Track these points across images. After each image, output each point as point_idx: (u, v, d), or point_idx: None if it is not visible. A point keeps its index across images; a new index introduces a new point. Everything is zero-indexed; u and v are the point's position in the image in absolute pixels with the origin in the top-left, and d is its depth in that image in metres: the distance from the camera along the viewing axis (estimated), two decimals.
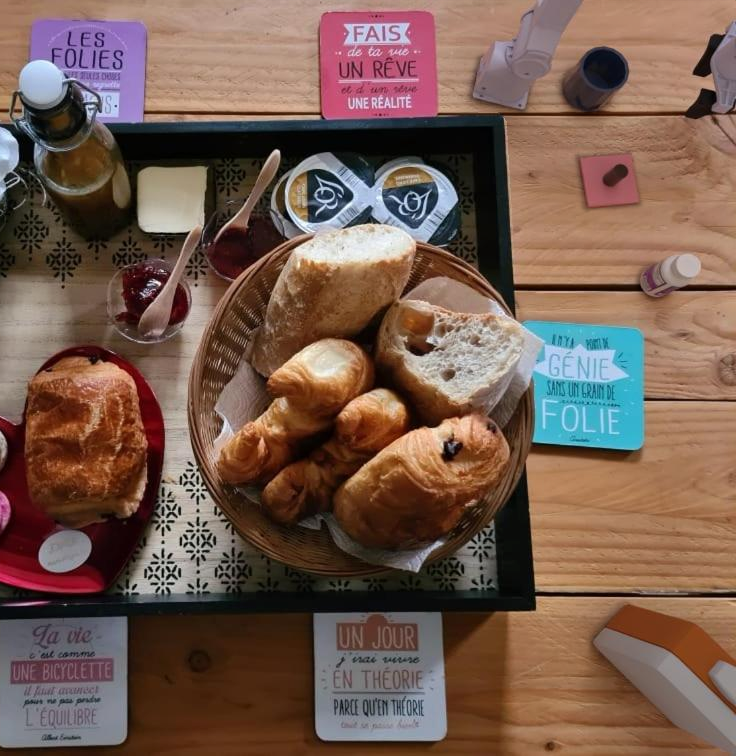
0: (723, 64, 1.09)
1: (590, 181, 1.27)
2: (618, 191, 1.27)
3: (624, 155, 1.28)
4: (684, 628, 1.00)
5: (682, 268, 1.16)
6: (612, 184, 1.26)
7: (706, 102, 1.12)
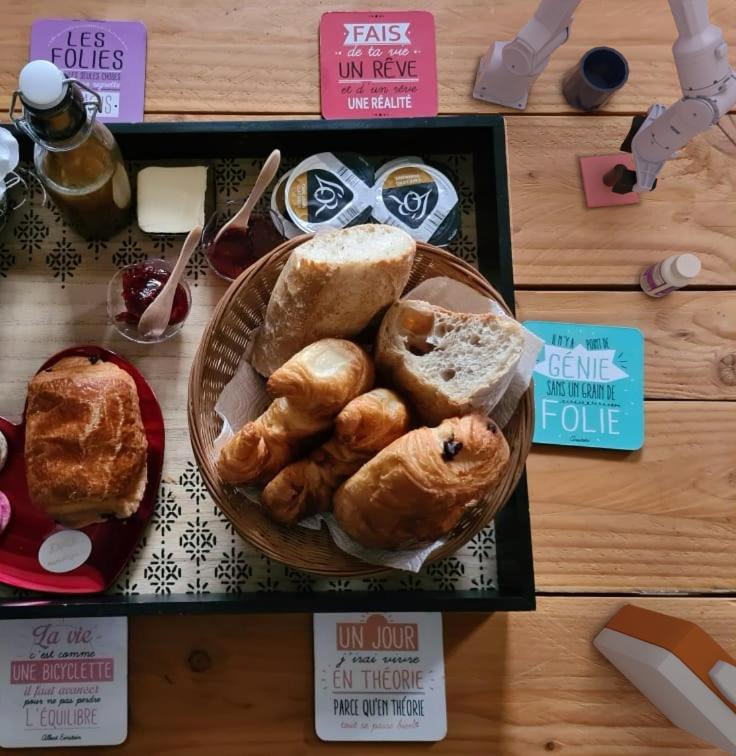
0: (641, 147, 1.13)
1: (590, 181, 1.27)
2: None
3: (624, 155, 1.28)
4: (684, 628, 1.00)
5: (682, 268, 1.16)
6: (612, 184, 1.26)
7: (627, 182, 1.16)
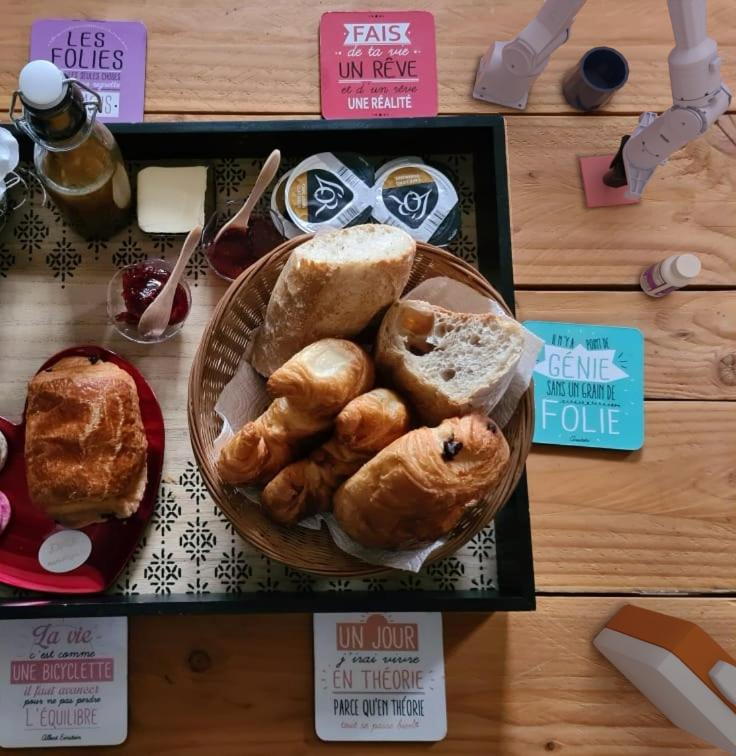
0: (632, 155, 1.16)
1: (590, 181, 1.27)
2: (618, 191, 1.27)
3: None
4: (684, 628, 1.00)
5: (682, 268, 1.16)
6: None
7: (621, 176, 1.19)
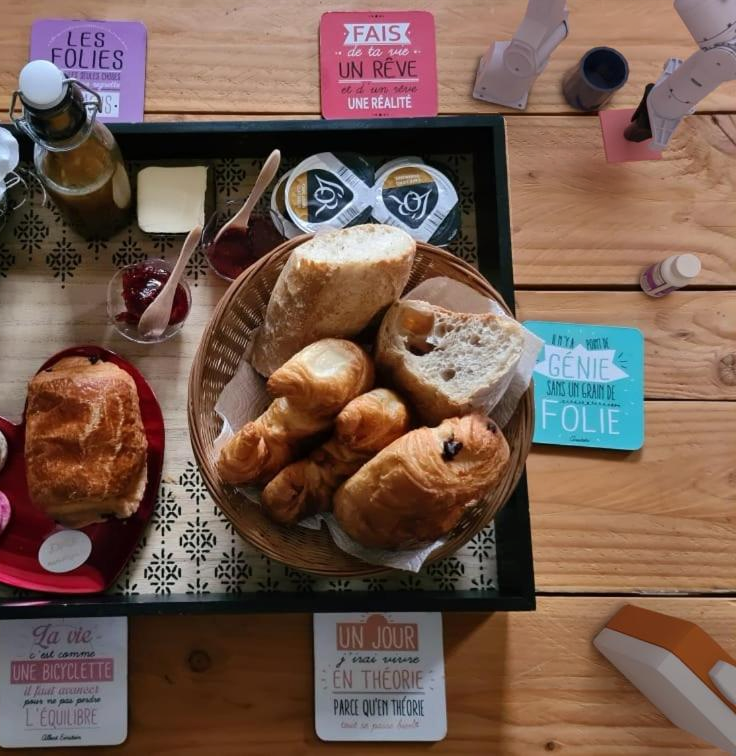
0: (658, 102, 1.08)
1: (610, 136, 1.20)
2: (640, 147, 1.19)
3: None
4: (684, 628, 1.00)
5: (682, 268, 1.16)
6: None
7: (645, 127, 1.11)
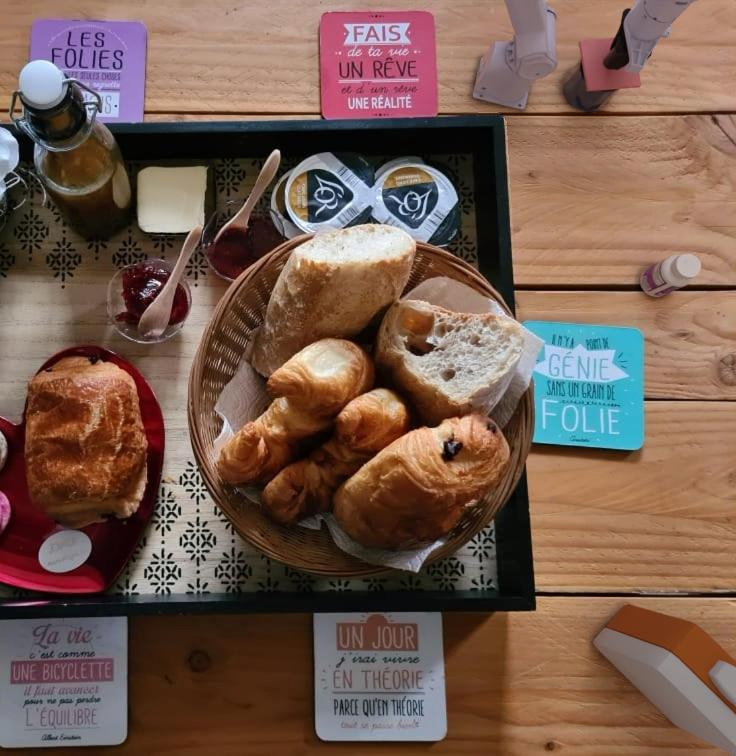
0: (634, 24, 1.11)
1: (590, 64, 1.22)
2: (619, 75, 1.22)
3: None
4: (684, 628, 1.00)
5: (682, 268, 1.16)
6: None
7: (622, 50, 1.14)
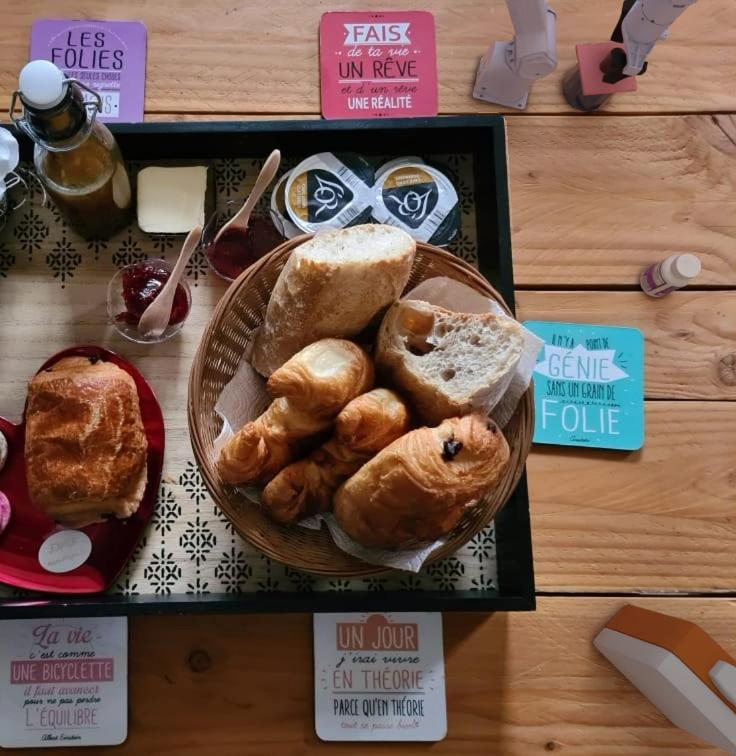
0: (632, 26, 1.11)
1: (587, 68, 1.24)
2: None
3: None
4: (684, 628, 1.00)
5: (682, 268, 1.16)
6: None
7: (618, 65, 1.14)
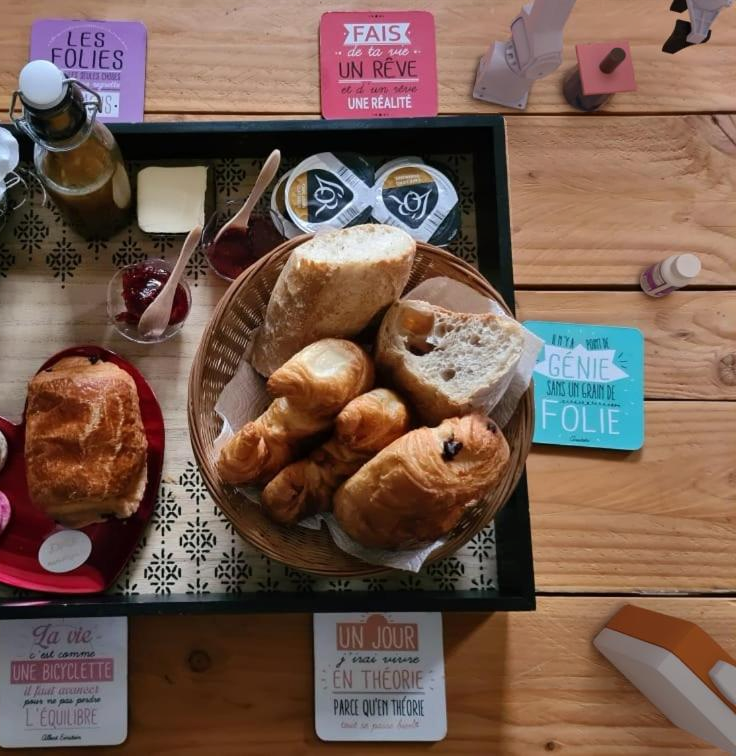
0: None
1: (587, 68, 1.24)
2: (615, 79, 1.23)
3: (622, 42, 1.24)
4: (684, 628, 1.00)
5: (682, 268, 1.16)
6: (609, 70, 1.23)
7: (681, 33, 1.13)
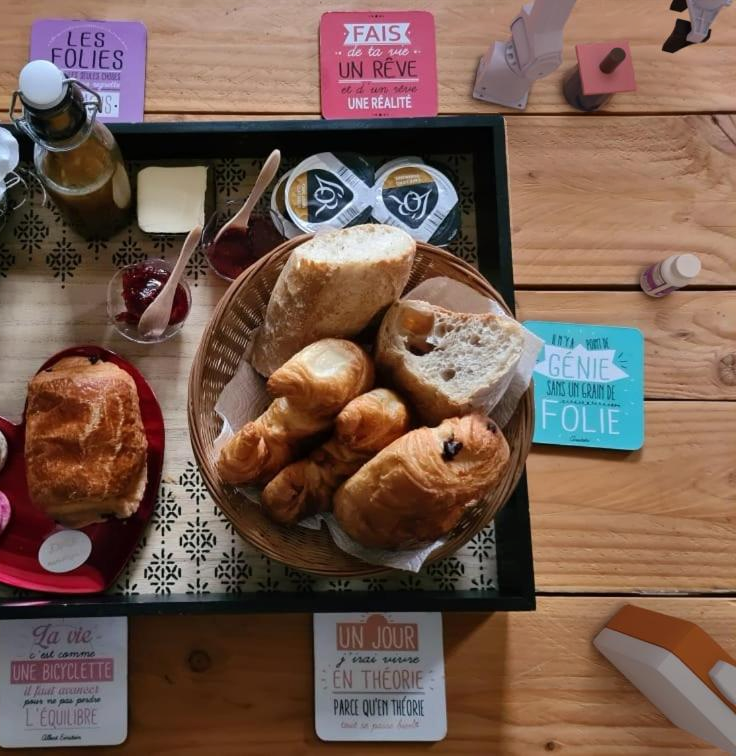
0: None
1: (587, 68, 1.24)
2: (615, 79, 1.23)
3: (622, 42, 1.24)
4: (684, 628, 1.00)
5: (682, 268, 1.16)
6: (609, 70, 1.23)
7: (681, 32, 1.13)
